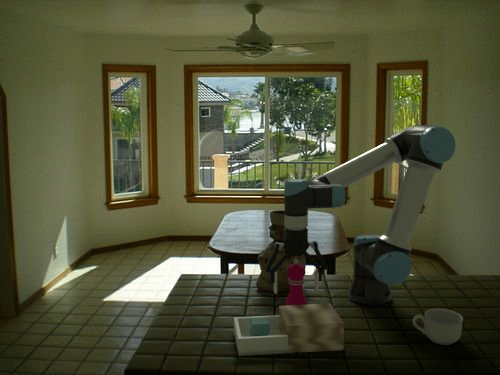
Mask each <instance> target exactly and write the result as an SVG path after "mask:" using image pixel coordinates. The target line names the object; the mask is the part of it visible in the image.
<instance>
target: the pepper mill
mask: <svg viewBox="0 0 500 375" xmlns="http://www.w3.org/2000/svg"><path fill="white" fill-rule="evenodd" d="M306 273H307V272H306V268H304V267H303V266H302V265H301V264H299V261H298V260H297V259H295V260H294V264H292V265H290V266H289V267H288V269H287V275H288V276H289V279H288V280H289V284H290V292H289V293H288V296H287V297H286V300H285V304H284V306H287V305H308V302H307V299H306V297H305V295H304V292H303V285H304V283H305V279H304V277H305V276H306Z"/></svg>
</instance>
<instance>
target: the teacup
mask: <svg viewBox="0 0 500 375" xmlns="http://www.w3.org/2000/svg"><path fill="white" fill-rule="evenodd" d="M418 319H420V320H422V323H423V327H421V326H420V325H418V323H417V321H418ZM463 321H464V317H463V316H462V315H461V314H460V313H458V312H457V311H454V310H451V309H446V308H429V309H427V310H425V311H424V315H422V314H416V315H414V316H413V318H412V325H413V326H414V327H415V328H416V329H417V330H419V331H421V333H422V334H423V335H425V336H426V337H427V338H428V339H429V340H430V341H431V342H433V343H435V344H437V345H440V346H449V345H453V344H454V343H456V342H458V340H460V339H461V336H462V331H463Z"/></svg>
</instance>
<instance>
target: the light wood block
mask: <svg viewBox="0 0 500 375" xmlns="http://www.w3.org/2000/svg"><path fill="white" fill-rule="evenodd" d="M278 315H279V316H280V331H281V333H282V335H288V353H287V354H293V353H294V354H296V353H295V352H298V353H311V352H328V351H329V352H330V351H331V352H332V351H344V345H345V343H344V340H345V338H344V337H345V334H344V333H345V329H344V328H345V322H344V321H343V320H342V318H341V317H340V315H339V314H338V312H336V310H335V309H334V307H333V305H332V304H331V302H329V303H315V304H314V303H311V304H309V303H307V305H287V306H285V305H279V306H278Z"/></svg>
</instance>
